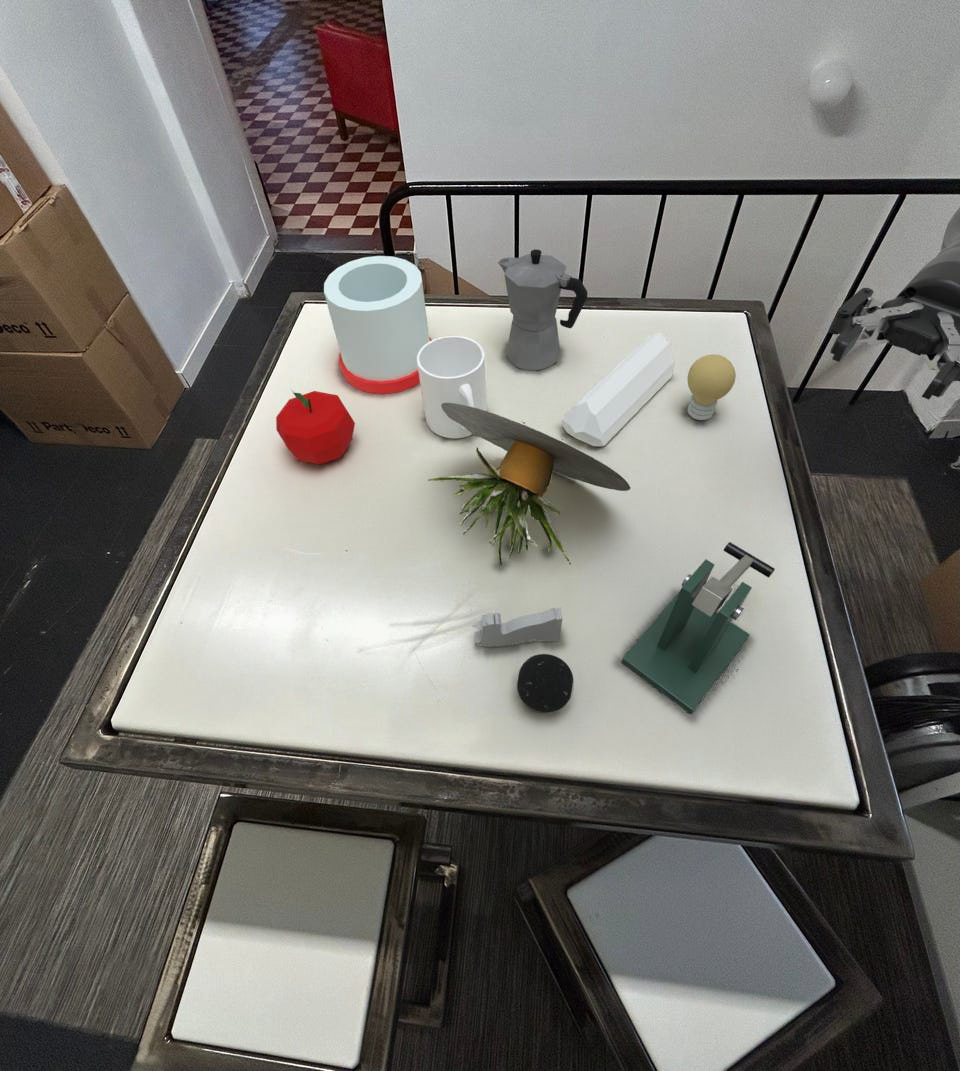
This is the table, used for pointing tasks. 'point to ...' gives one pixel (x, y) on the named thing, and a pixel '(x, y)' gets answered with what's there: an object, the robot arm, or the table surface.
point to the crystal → (621, 392)
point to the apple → (315, 427)
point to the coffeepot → (537, 308)
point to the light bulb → (709, 384)
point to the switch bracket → (689, 643)
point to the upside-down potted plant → (522, 474)
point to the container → (378, 322)
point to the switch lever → (728, 580)
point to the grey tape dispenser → (519, 628)
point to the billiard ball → (545, 683)
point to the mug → (451, 381)
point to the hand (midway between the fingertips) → (883, 371)
